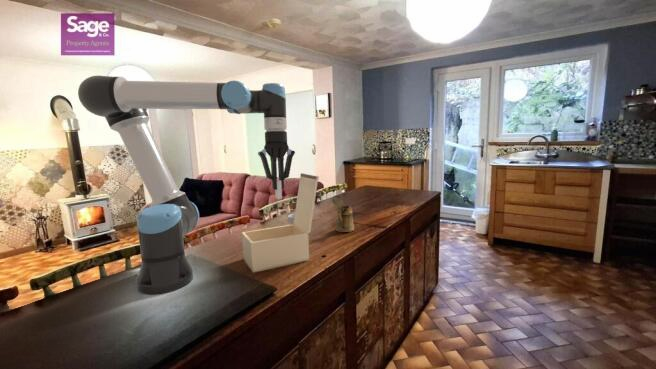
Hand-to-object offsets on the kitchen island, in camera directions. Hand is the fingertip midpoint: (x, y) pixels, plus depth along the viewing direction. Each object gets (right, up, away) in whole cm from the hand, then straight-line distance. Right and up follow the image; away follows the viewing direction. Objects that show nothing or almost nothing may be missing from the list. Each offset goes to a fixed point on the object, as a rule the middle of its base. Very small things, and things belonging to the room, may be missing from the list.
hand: (278, 198), depth 109 cm
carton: (-1, -22, +2) cm, 22 cm away
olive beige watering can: (+24, -17, +34) cm, 45 cm away
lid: (+9, -1, +5) cm, 10 cm away
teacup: (+5, -17, +39) cm, 43 cm away
